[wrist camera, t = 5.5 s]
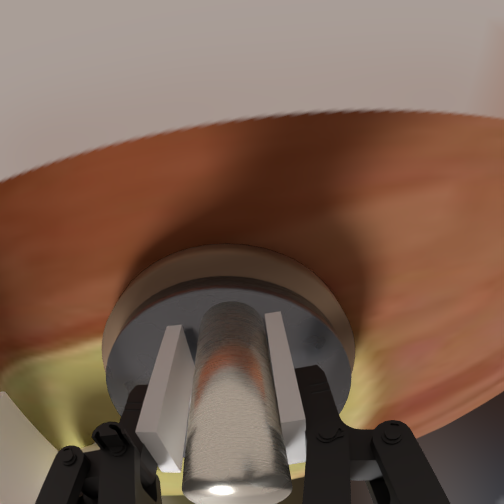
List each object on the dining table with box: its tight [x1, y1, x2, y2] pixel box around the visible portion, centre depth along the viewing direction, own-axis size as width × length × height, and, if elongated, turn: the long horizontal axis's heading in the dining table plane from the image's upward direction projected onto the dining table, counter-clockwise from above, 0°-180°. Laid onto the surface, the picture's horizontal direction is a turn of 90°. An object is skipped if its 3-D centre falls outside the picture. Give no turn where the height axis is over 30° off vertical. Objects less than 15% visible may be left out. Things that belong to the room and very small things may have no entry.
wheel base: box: [102, 243, 355, 374], centre depth 21 cm, size 17×17×2 cm
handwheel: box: [106, 276, 351, 504], centre depth 14 cm, size 15×15×11 cm
